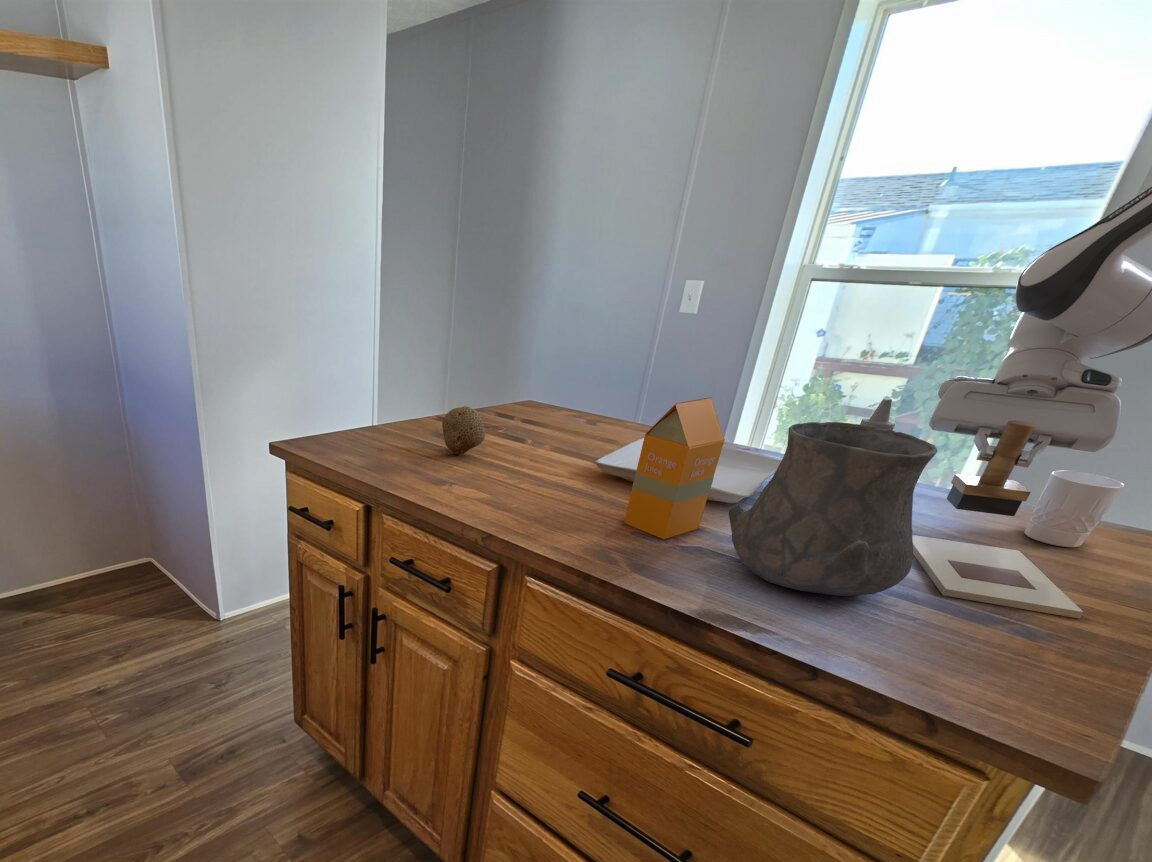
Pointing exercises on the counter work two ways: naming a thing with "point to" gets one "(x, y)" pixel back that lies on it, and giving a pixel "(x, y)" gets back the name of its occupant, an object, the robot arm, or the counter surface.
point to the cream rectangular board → (990, 576)
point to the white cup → (1071, 507)
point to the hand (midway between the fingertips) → (1003, 461)
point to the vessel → (835, 511)
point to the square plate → (731, 478)
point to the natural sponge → (463, 429)
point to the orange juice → (676, 470)
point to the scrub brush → (995, 477)
